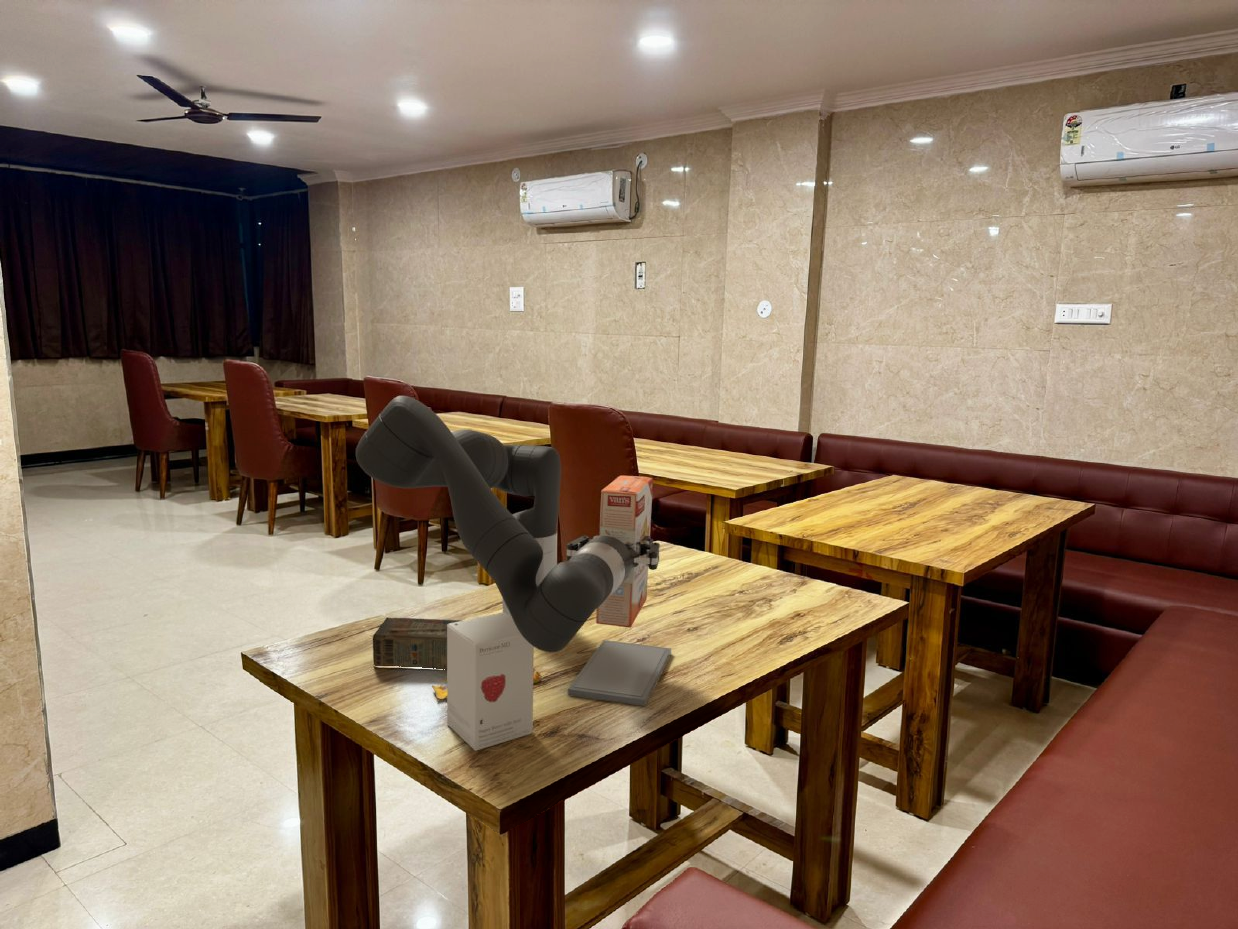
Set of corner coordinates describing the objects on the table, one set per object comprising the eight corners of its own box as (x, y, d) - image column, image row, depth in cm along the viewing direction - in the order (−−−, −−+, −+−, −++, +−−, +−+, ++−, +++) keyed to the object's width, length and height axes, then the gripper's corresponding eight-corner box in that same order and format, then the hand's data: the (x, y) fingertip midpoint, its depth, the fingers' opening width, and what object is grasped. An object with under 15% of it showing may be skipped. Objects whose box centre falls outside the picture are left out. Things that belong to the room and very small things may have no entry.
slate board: (645, 706, 120) (645, 699, 120) (567, 695, 123) (567, 688, 123) (671, 654, 139) (671, 648, 139) (603, 645, 142) (603, 639, 142)
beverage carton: (490, 674, 130) (490, 635, 129) (370, 671, 130) (369, 632, 129) (498, 654, 138) (498, 617, 137) (385, 651, 138) (384, 614, 137)
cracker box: (633, 629, 121) (638, 492, 118) (594, 625, 123) (598, 489, 119) (649, 600, 135) (654, 476, 131) (614, 596, 136) (618, 473, 133)
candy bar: (534, 674, 131) (534, 663, 130) (544, 685, 127) (544, 674, 127) (430, 694, 123) (430, 682, 123) (437, 705, 120) (436, 694, 119)
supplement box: (474, 753, 106) (473, 644, 103) (445, 725, 113) (444, 622, 110) (535, 734, 111) (535, 630, 109) (504, 708, 118) (504, 610, 116)
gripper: (548, 590, 114) (583, 558, 130) (647, 601, 111) (671, 567, 127) (548, 538, 113) (584, 512, 129) (649, 548, 109) (673, 520, 125)
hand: (627, 540), depth 128 cm, fingers closed on cracker box, 6 cm apart
